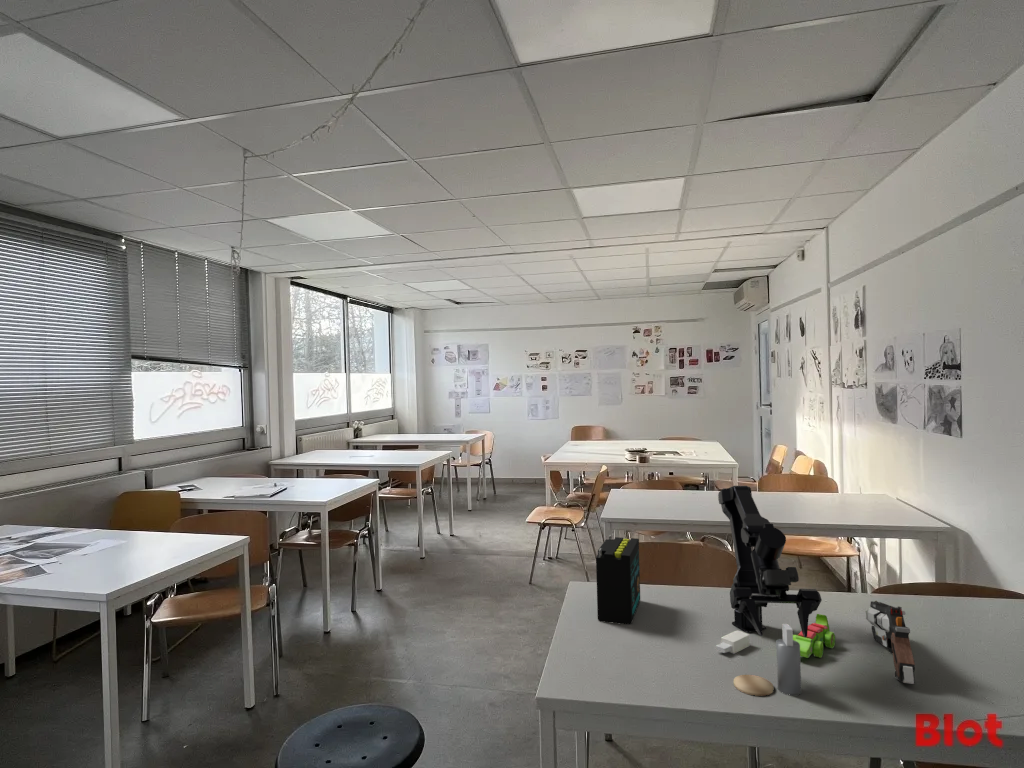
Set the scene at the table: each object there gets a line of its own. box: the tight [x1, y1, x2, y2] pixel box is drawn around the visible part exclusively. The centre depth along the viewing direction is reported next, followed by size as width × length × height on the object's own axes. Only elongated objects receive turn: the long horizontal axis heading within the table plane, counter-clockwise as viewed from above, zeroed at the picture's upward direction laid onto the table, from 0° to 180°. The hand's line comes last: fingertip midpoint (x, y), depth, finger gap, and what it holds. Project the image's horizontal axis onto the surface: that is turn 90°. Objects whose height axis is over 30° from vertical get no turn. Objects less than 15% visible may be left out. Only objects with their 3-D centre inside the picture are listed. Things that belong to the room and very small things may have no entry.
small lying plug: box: [715, 629, 751, 655], centre depth 144 cm, size 10×4×3 cm, turn 126°
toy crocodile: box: [793, 613, 836, 659], centre depth 143 cm, size 20×7×6 cm, turn 132°
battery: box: [595, 534, 641, 625], centre depth 171 cm, size 19×10×20 cm, turn 160°
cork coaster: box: [733, 674, 775, 697], centre depth 125 cm, size 8×8×1 cm
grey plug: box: [775, 623, 802, 696], centre depth 124 cm, size 5×5×14 cm
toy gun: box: [865, 600, 916, 685], centre depth 137 cm, size 5×28×15 cm, turn 159°
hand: (783, 636), depth 127 cm, fingers open, 9 cm apart
